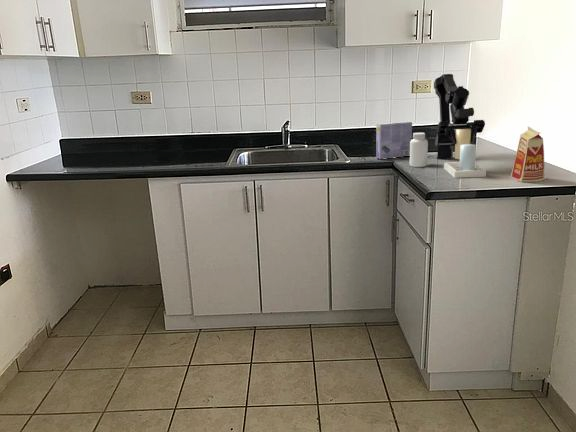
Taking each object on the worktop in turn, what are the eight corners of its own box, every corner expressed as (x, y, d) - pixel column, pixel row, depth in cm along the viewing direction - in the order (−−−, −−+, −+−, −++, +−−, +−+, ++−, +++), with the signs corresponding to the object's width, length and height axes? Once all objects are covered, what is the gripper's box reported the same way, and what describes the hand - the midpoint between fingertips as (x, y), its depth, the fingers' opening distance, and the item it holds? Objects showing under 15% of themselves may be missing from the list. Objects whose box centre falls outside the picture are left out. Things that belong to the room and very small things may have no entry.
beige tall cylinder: (451, 158, 210) (452, 130, 207) (460, 156, 214) (461, 128, 210) (464, 159, 206) (465, 130, 202) (472, 157, 209) (473, 129, 206)
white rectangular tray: (443, 169, 217) (444, 162, 216) (472, 168, 216) (472, 161, 215) (454, 178, 198) (454, 171, 197) (485, 177, 197) (486, 170, 196)
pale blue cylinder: (457, 175, 202) (458, 146, 198) (461, 172, 206) (462, 143, 203) (472, 176, 199) (474, 146, 195) (476, 173, 203) (477, 144, 200)
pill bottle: (417, 168, 223) (418, 134, 219) (405, 165, 230) (406, 133, 226) (431, 165, 226) (431, 133, 222) (419, 163, 233) (419, 131, 229)
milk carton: (510, 178, 194) (513, 126, 189) (532, 176, 195) (537, 125, 189) (522, 182, 186) (526, 129, 180) (546, 181, 186) (551, 127, 181)
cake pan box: (408, 155, 257) (409, 120, 252) (414, 156, 252) (414, 121, 248) (375, 158, 252) (375, 123, 247) (380, 160, 247) (380, 124, 242)
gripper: (439, 102, 208) (444, 132, 200) (485, 100, 206) (491, 129, 199) (435, 119, 218) (439, 148, 210) (478, 117, 216) (484, 146, 208)
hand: (463, 143), depth 207 cm, fingers closed on beige tall cylinder, 6 cm apart
